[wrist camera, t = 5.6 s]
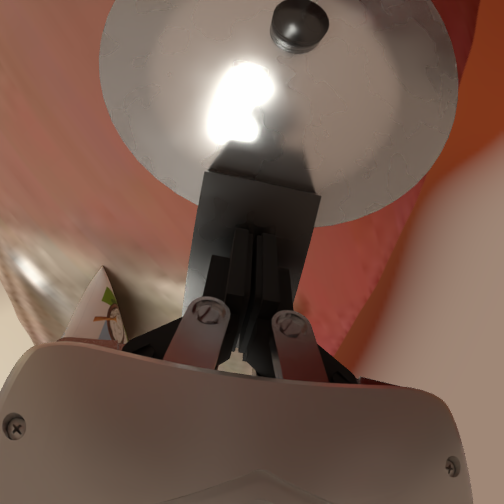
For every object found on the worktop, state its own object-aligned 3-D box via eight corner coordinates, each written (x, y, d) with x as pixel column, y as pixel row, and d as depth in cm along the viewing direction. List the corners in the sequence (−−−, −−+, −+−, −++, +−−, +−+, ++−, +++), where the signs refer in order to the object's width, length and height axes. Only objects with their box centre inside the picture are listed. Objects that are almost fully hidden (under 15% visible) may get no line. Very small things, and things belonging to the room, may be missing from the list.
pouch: (105, 339, 51) (71, 429, 35) (85, 261, 40) (22, 369, 24) (143, 348, 52) (115, 444, 36) (132, 270, 41) (79, 392, 25)
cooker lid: (170, -88, 8) (163, -110, 6) (448, -17, 10) (468, -30, 8) (74, 291, 16) (52, 310, 13) (379, 344, 17) (396, 368, 15)
